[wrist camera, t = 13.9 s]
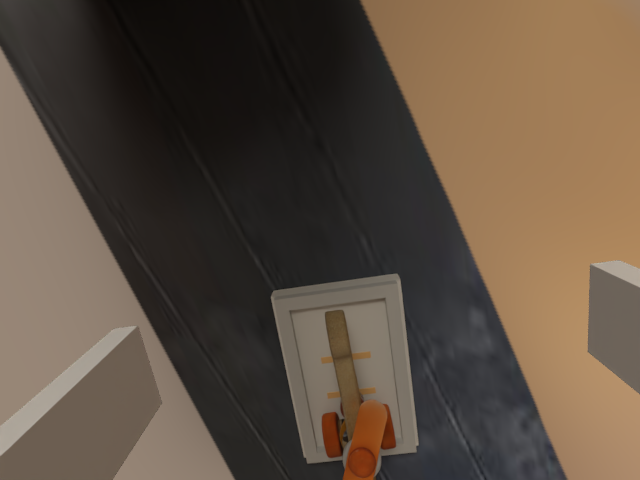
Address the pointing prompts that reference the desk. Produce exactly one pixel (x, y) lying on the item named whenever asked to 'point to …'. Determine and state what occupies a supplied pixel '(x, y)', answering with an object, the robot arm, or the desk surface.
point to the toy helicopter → (354, 412)
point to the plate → (367, 351)
